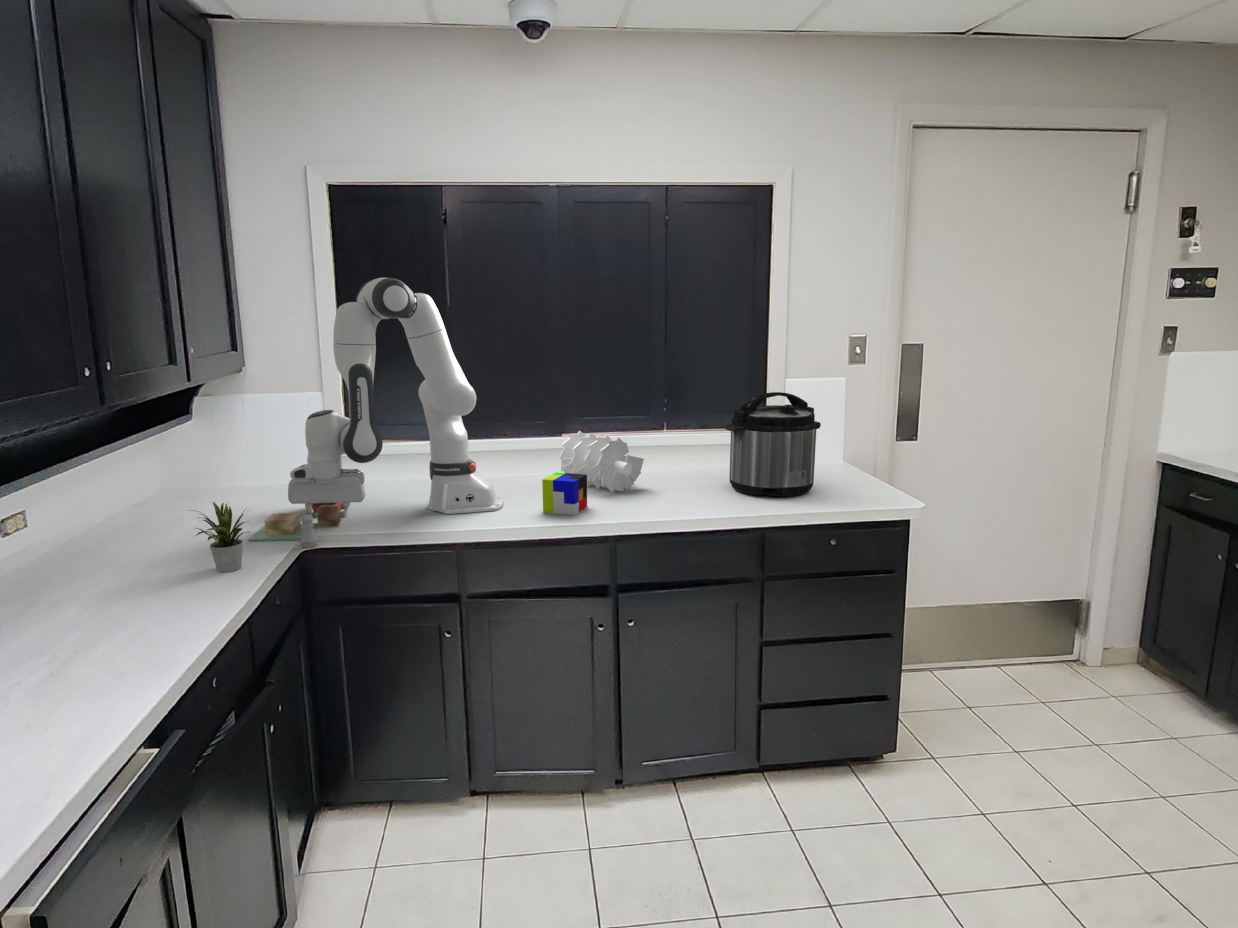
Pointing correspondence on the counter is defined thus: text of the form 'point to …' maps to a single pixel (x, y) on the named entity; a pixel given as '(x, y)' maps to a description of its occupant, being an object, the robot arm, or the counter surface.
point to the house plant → (225, 540)
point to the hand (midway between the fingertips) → (328, 517)
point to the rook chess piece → (308, 532)
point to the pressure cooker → (773, 447)
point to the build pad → (262, 536)
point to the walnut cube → (328, 515)
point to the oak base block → (282, 524)
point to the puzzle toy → (564, 493)
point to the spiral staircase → (600, 461)
